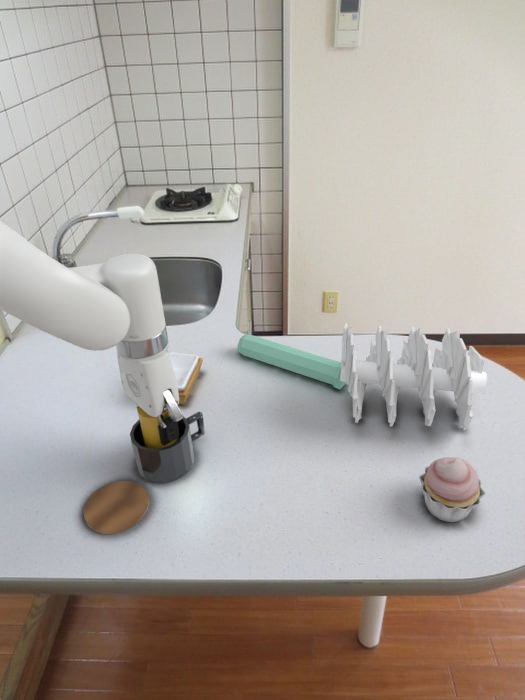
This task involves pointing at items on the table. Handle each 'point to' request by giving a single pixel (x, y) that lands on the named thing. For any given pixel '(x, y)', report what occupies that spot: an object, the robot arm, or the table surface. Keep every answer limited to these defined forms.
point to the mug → (167, 452)
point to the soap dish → (185, 372)
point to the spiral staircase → (414, 372)
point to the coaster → (116, 507)
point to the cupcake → (451, 488)
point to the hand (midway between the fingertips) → (159, 429)
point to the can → (152, 429)
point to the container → (292, 359)
